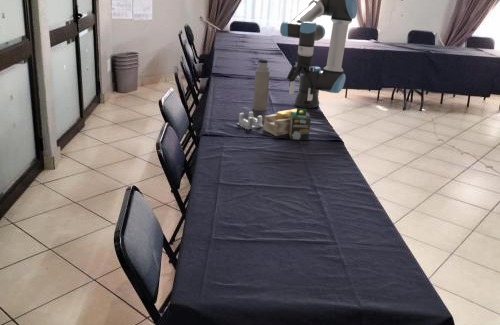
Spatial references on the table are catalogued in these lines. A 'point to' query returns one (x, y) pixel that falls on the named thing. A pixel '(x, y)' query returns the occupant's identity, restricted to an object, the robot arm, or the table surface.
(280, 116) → the wooden block
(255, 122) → the stand
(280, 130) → the beige channeled block
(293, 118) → the chalk box
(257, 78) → the thermos bottle
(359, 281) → the table surface
